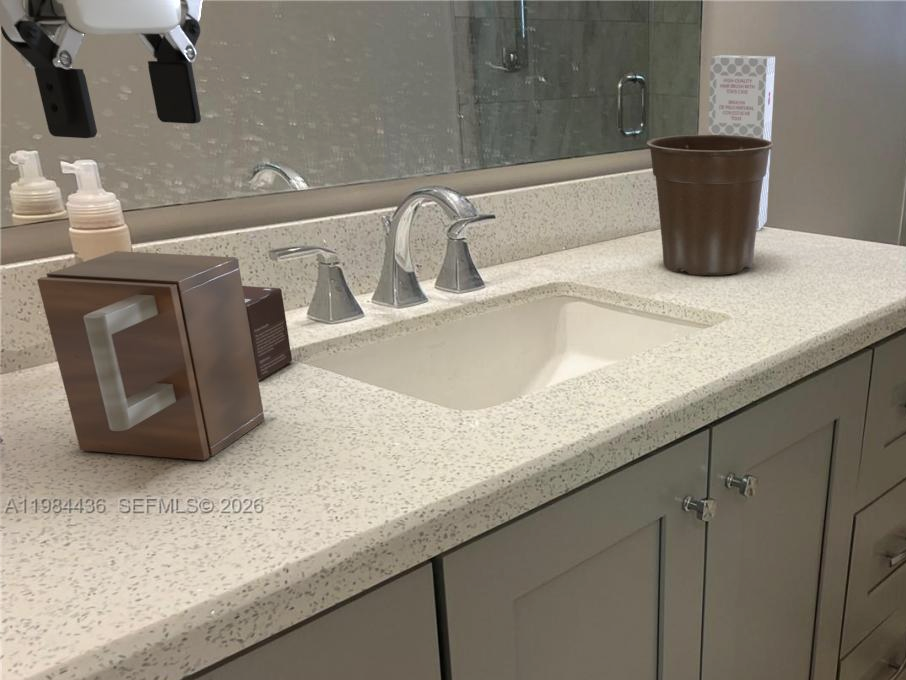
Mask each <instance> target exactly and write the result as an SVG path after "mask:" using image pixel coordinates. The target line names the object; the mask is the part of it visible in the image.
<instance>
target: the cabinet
mask: <svg viewBox="0 0 906 680" xmlns="http://www.w3.org/2000/svg"><path fill="white" fill-rule="evenodd" d="M46 277H55V278H72V279H89V280H107V281H124V282H141V283H159V284H175V285H176V286H177V291H178V296H179V301H180V306H181V311H182V316H183V322H184V327H185V332H186V337H187V342H188V347H189V352H190V357H191V363H192V368H193V373H194V378H195V383H196V388H197V393H198V398H199V404H200V409H201V414H202V419H203V424H204V429H205V434H206V440H207V445H208V450H209V455H210V457H214V456H215V455H217V454H219V453H220V452H221V451H223V450H224V449H226V448H227V447H228V446H230V445H231V444H233V443H235V441H237V440H238V439H240V438H241V437H242V436H244V435H246V434H247V433H248V432H250V431H251V430H253V429H254V428H256V427H257V426H259V425H260V424H261V423H263V422H265V414H264V413H265V412H264V406H263V402H262V395H261V389H260V382H259V381H258V376H257V370H256V364H255V358H254V352H253V346H252V340H251V334H250V328H249V322H248V316H247V310H246V304H245V298H244V292H243V286H244V285H243V281H242V274H241V269H240V262H239V258H238V257H237V256H236V257H233V256H219V255H218V256H215V255H196V254H178V253H161V252H160V253H159V252H144V251H143V252H141V251H122V250H116V251H113V252H109V253H106V254H103V255H100V256H97V257H93V258H91V259H88V260H85V261H82V262H79V263H75V264H73V265H72V264H71V265H70V266H66V267H62V268H59V269H57V270H54V271H51V272H48V273H46Z"/></svg>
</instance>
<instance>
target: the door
mask: <svg viewBox="0 0 906 680" xmlns="http://www.w3.org/2000/svg"><path fill="white" fill-rule="evenodd" d="M36 281H37V286H38V289H39V293H40V297H41V301H42V304H43V308H44V313H45V317H46V320H47V325H48V329H49V333H50V336H51V340H52V345H53V349H54V352H55V357H56V360H57V365H58V368H59V372H60V377H61V379H62V380H61V381H62V383H63V387H64V392H65V394H66V395H65V396H66V400H67V404H68V408H69V411H70V416H71V420H72V423H73V427H74V431H75V435H76V439H77V443H78V447H79V450H80V451H85V452H97V453H99V452H100V453H111V454H124V455H137V456H147V457H160V458H170V459H171V458H172V459H183V460H184V459H185V460H197V461H206V460H207V459H208V458H210V457H211V456H210V455H209V450H208V445H207V440H206V434H205V429H204V424H203V419H202V414H201V409H200V404H199V398H198V393H197V388H196V383H195V378H194V373H193V368H192V363H191V357H190V352H189V347H188V342H187V337H186V332H185V327H184V322H183V316H182V311H181V306H180V301H179V296H178V291H177V286H176V285H175V284H159V283H141V282H124V281H107V280H89V279H72V278H55V277H47V276H42V277H40V278H37V279H36Z"/></svg>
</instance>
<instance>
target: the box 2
mask: <svg viewBox="0 0 906 680" xmlns="http://www.w3.org/2000/svg"><path fill="white" fill-rule="evenodd" d="M709 65H710V67H709V101H708V102H709V103H708V106H709V109H708V134H707V135H735V136H747V137H753V138H760V139H765V140H768V141H771V142H772V129H773V128H772V127H773V109H774V90H775V73H776V72H775V70H776V56H770V55H739V54H737V55H736V54H734V55H733V54H731V55H730V54H720V55H715V56H711V57H710V64H709ZM770 166H771V149H770V150H769V156H768V162H767V170H766V175H765V176H764V177H763V182H762V190H761V197H760V205H759V213H758V221H757V229H756V232H759V231H760V230H761V228H763V226H764V225H765V224H766V223H767V222H768V205H769V204H768V203H769V185H770Z"/></svg>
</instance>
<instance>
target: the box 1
mask: <svg viewBox="0 0 906 680" xmlns="http://www.w3.org/2000/svg"><path fill="white" fill-rule="evenodd" d="M242 286H243V292H244V298H245V304H246V310H247V316H248V322H249V328H250V334H251V340H252V346H253V352H254V358H255V364H256V370H257V376H258V382H259V381H262V379H264V378H267V376H269V375H270V374H272V373H274V372H275V371H278V370H279V369H280V368H283V367H284V366H286V365H287V364H290V363H291V362H292V361H293V358H292V350H291V345H290V337H289V330H288V323H287V318H286V310H285V303H284V298H283V292H282V288H280V287H267V286H266V287H265V286H250V285H242Z"/></svg>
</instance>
